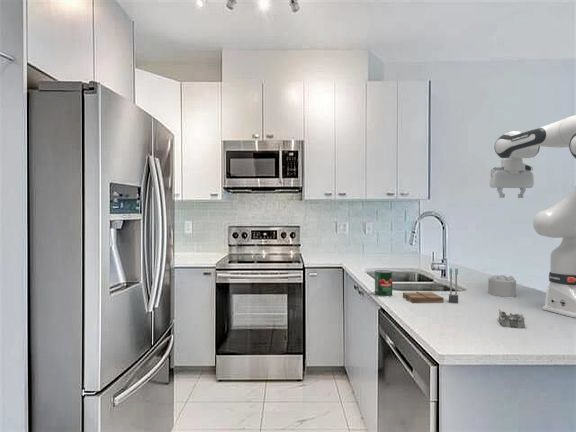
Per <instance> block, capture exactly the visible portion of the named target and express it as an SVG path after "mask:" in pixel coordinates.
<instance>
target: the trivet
mask: <svg viewBox="0 0 576 432" xmlns="http://www.w3.org/2000/svg"><path fill="white" fill-rule="evenodd" d="M402 298H403V299H405V298H406V300H407V299H408V300H407V301H409V302H410V303H413V304H425V303H426V304H432V303H433V304H434V303H435V304H436V303H437V304H439V303H440V304H443V303H444V297H442V296H440V295H438V294H436V293H434V292H432V291H429V292H425V291H424V292H423V291H422V292H419V291H415V292H407V291H405V292H402Z"/></svg>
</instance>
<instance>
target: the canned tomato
mask: <svg viewBox="0 0 576 432" xmlns="http://www.w3.org/2000/svg"><path fill="white" fill-rule="evenodd" d="M374 295H375V296H376V297H382V296H389V297H392V296H393V270H389V269H377V270H376V269H375V270H374Z"/></svg>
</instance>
